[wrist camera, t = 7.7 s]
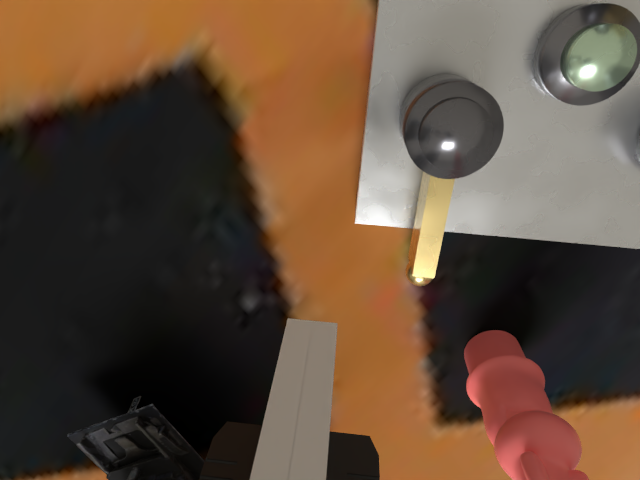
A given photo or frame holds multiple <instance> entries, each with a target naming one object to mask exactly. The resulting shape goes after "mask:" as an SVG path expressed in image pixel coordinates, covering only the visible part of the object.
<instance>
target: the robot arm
mask: <svg viewBox="0 0 640 480" xmlns="http://www.w3.org/2000/svg"><path fill="white" fill-rule="evenodd" d="M336 337H337V323H328V322H319V321H309V320H299V319H289V318H288V320H287V324H286V328H285V333H284V337H283V341H282V345H281V349H280V354H279V358H278V362H277V366H276V370H275V375H274V379H273V383H272V387H271V391H270V396H269V400H268V404H267V408H266V413H265V417H264V421H263V425H255V424H246V423H237V422H228V421H227V422H226V423H225V425H224V426H223V427H222V428H221V429H220V430H219V432H218V433H217V434H216V435H215V436H214V437H213V439H212V442H211V445H210V448H209V451H208V454H207V457H206V461H205V462H204V465H203V468H202V471H201V474H200V479H199V480H379V477H380V475H379V455H378V453H377V451H376V449H375V447H374V445H373V442H372V440H371V438H370V436H365V435H356V434H347V433H338V432H330V419H331V405H332V391H333V378H334V364H335V350H336Z"/></svg>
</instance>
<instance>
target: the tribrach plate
mask: <svg viewBox="0 0 640 480" xmlns="http://www.w3.org/2000/svg"><path fill="white" fill-rule="evenodd" d="M440 74H454V75H459V76H462V77H464V78H466V79H468V80H470V81H471V82H473V83H475V84H476V85H478V86H480V87H481V88H483V89H484V90H486V91H487V92H489V93H490V94H491V95H492V96H493V97H494V99H495V100H496V101H497V103H498V104H499V106H500V109H501V111H502V115H503V120H504V131H503V137H502V140H501V143H500V145H499V148H498V150H497V151H496V153H495V155H494V156H493V157H492V158H491V160H490V161H489V162H488V163H487V164H486V165H485V166H483V167H482V168H481V169H479V170H478V171H476V172H474V173H472V174H470V175H468V176H465V177H461V178H457V179H455V181H454V186H453V191H452V195H451V200H450V205H449V210H448V215H447V220H446V224H445V229H444V231H447V232H458V233H469V234H480V235H491V236H502V237H513V238H524V239H535V240H547V241H558V242H569V243H580V244H591V245H602V246H613V247H624V248H635V249H640V163H639V161H638V158H637V153H636V146H637V140H638V136H639V134H640V0H378V2H377V12H376V21H375V30H374V40H373V49H372V58H371V68H370V77H369V86H368V95H367V105H366V114H365V123H364V133H363V142H362V151H361V160H360V170H359V179H358V188H357V198H356V207H355V223H358V224H369V225H380V226H391V227H402V228H413V227H414V221H415V215H416V209H417V204H418V198H419V192H420V186H421V181H422V175H423V171H422V170H421V169H420V168H418V167H417V166H416V165H415V163H414V162H413V161H412V159H411V158H410V156H409V154H408V151H407V148H406V145H405V143H404V140H403V137H402V134H401V131H400V123H399V119H400V112H401V108H402V105H403V103H404V101H405V99H406V97H407V96H408V94H409V93H410V92H411V90H412V89H413V88H414V87H415V86H416V85H418V84H419V83H420V82H422V81H424V80H425V79H427V78H430V77H432V76H435V75H440Z"/></svg>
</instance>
